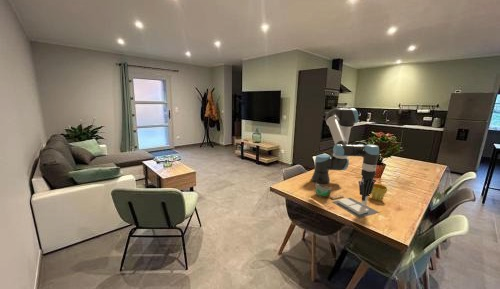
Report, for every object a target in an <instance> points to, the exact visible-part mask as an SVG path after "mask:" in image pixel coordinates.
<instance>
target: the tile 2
mask: <svg viewBox="0 0 500 289" xmlns="http://www.w3.org/2000/svg"><path fill="white" fill-rule="evenodd" d="M349 209H350V210H351V211H353V212H355V213H357V214H358V215H361V214H365V213H368V211H369V210H368V209H366V208H364V207H362V206H361V205H359V204H356V205H352V206H349Z"/></svg>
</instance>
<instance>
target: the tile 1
mask: <svg viewBox="0 0 500 289" xmlns="http://www.w3.org/2000/svg"><path fill="white" fill-rule="evenodd" d="M347 198H348V197H346V198H339V199H337V201H338V203H339V204H341V205H343V206H344V207H346V208H349V206H352V205H356V203H355V202H353V201H351V200H349V199H347Z"/></svg>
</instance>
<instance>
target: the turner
mask: <svg viewBox="0 0 500 289" xmlns="http://www.w3.org/2000/svg"><path fill="white" fill-rule="evenodd" d="M344 197H345V196H344V195H342V194H335V195H330V197H329V199H331V200H332V201H335V200H340V199H344Z"/></svg>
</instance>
